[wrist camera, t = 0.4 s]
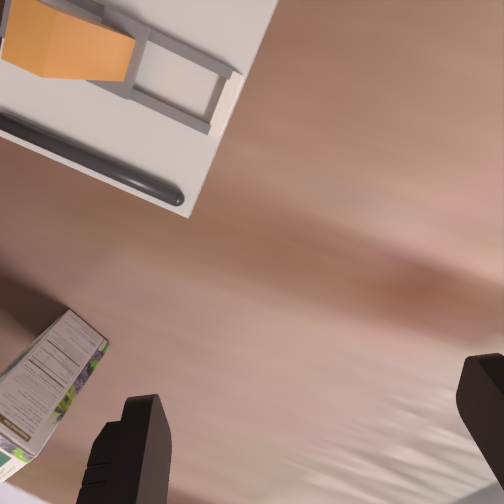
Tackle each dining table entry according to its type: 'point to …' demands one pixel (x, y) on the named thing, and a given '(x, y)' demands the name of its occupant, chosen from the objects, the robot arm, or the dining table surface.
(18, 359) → the syrup box
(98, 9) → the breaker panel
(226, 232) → the dining table surface
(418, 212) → the dining table surface
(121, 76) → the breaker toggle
